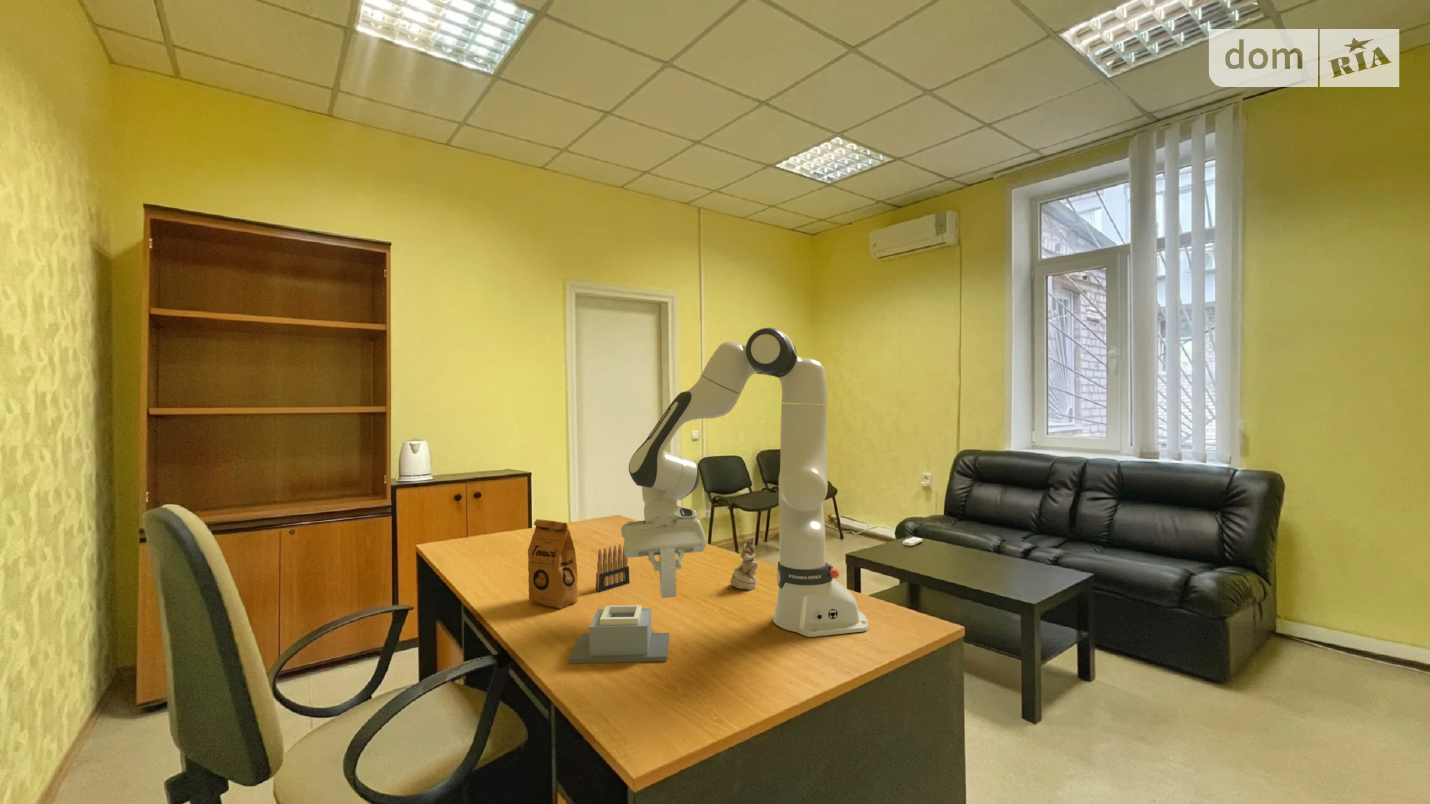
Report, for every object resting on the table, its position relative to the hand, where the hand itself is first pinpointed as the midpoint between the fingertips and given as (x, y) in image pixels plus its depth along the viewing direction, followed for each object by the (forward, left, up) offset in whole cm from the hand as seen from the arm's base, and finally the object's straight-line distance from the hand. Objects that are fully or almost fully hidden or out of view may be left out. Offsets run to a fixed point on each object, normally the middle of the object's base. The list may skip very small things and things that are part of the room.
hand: (667, 568), depth 135 cm
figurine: (-21, -28, -14) cm, 37 cm away
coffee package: (+31, -18, -14) cm, 39 cm away
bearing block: (+9, +12, -14) cm, 20 cm away
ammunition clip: (+17, -30, -14) cm, 37 cm away
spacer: (+9, +12, -7) cm, 17 cm away
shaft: (0, -1, -6) cm, 6 cm away
